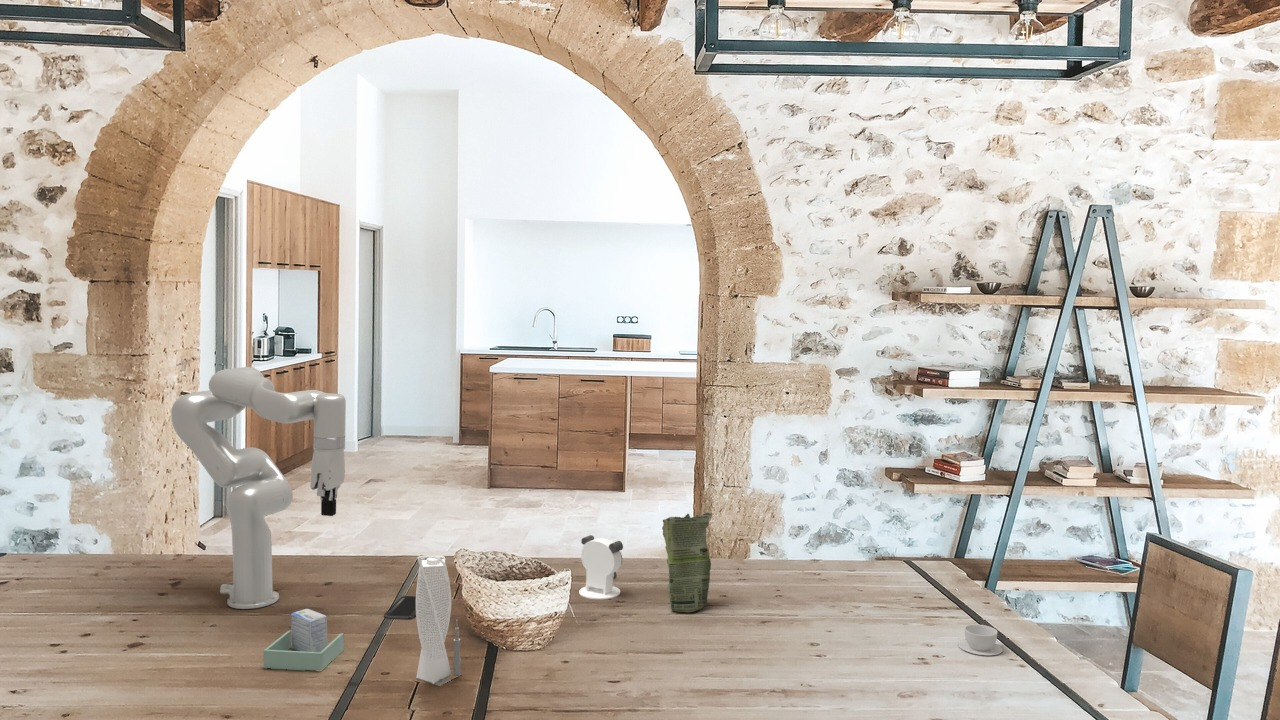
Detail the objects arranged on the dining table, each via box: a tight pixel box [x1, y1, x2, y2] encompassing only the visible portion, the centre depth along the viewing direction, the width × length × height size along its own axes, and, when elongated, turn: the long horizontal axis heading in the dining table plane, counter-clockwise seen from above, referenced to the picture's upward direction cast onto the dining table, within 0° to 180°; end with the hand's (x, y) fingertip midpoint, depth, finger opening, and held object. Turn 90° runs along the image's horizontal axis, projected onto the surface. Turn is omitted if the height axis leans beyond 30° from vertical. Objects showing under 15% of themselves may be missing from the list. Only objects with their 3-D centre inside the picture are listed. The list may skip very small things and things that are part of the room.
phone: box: [383, 595, 416, 621], centre depth 242 cm, size 8×1×15 cm
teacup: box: [957, 623, 1004, 656], centre depth 221 cm, size 10×10×5 cm
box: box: [262, 630, 345, 671], centre depth 209 cm, size 13×12×4 cm
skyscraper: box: [415, 554, 462, 687], centre depth 200 cm, size 8×8×28 cm
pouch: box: [661, 511, 712, 613], centre depth 246 cm, size 11×12×25 cm
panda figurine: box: [578, 534, 624, 600], centre depth 256 cm, size 12×11×15 cm
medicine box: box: [290, 608, 328, 652], centre depth 214 cm, size 8×4×9 cm, turn 52°
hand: (328, 514), depth 235 cm, fingers closed
